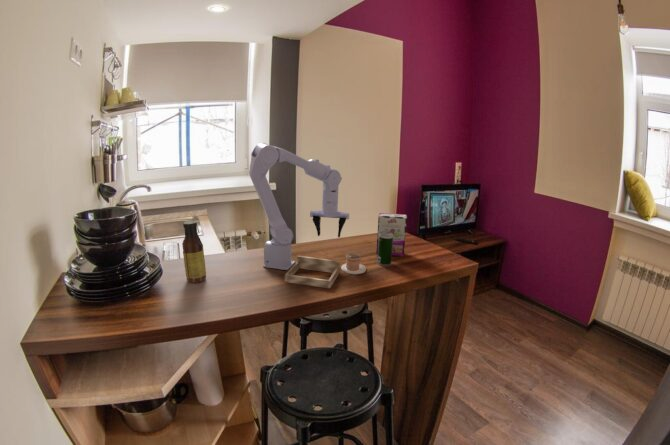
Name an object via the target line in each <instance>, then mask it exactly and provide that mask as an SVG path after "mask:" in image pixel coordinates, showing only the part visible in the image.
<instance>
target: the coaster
mask: <svg viewBox="0 0 670 445" xmlns="http://www.w3.org/2000/svg"><path fill="white" fill-rule="evenodd" d="M340 269H341V271H342V272H343V273H345V274H348V275H353V276H354V275H362V274H364V273H366V271H367V267H366V265H364V264H361V263H360V266H359V270H357V271H350V270H347V269H346V263H343V264H342V265H341V266H340Z"/></svg>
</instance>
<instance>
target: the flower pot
mask: <svg viewBox="0 0 670 445" xmlns="http://www.w3.org/2000/svg"><path fill="white" fill-rule="evenodd" d="M361 258H362V257H361V255H360V254H358V253H348V254H346V255H345V259H346V260H345V264H346V269H347V270H350V271H357V270H359V266H360V264H361Z"/></svg>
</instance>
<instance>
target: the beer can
mask: <svg viewBox="0 0 670 445" xmlns="http://www.w3.org/2000/svg"><path fill="white" fill-rule="evenodd" d="M393 237H394V236H393V233H391V232H380V235H379V243H378V254H377V259H376V262H377V264H378V266H381V267H382V266H383V267H389V266H390V265H391V264H392V258H393V256H392V248H393Z"/></svg>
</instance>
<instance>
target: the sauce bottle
mask: <svg viewBox="0 0 670 445" xmlns="http://www.w3.org/2000/svg"><path fill="white" fill-rule="evenodd" d="M182 226H183V228H184V238H183V240H182V243H181V244H182V254H183V263H184V270H185V271H184V272H185V277H186V281H187V282H188V283H191V284H198V283H201V282H203V281H205V280H206V279H207V269H206V261H205V251H204V243H203V242H202V239H201V238H200V236H199V234H198V223H197V221H196V220H187V221H184V222H182Z"/></svg>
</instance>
